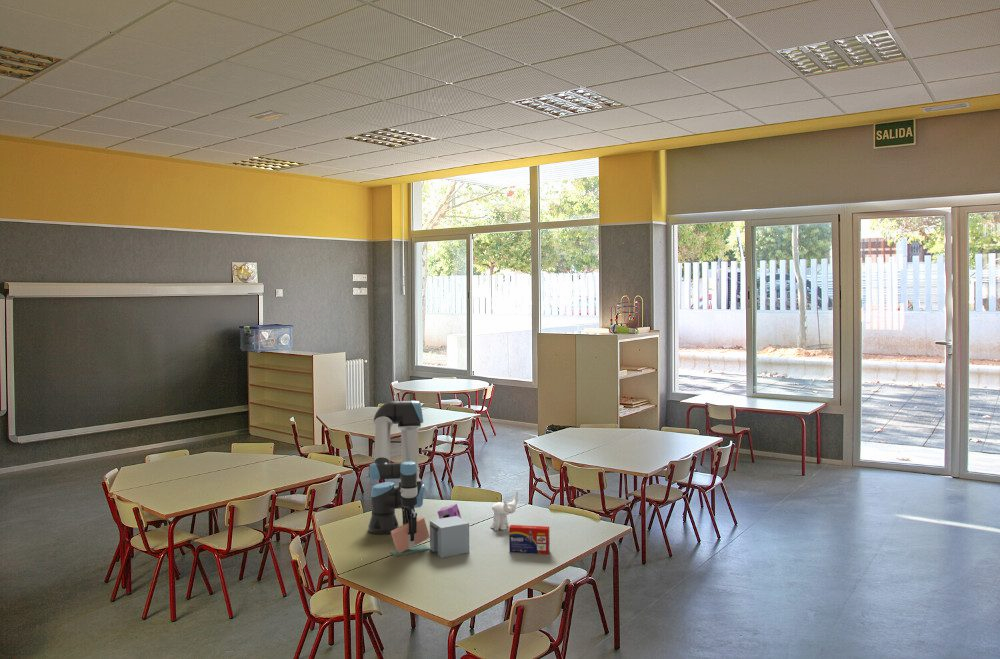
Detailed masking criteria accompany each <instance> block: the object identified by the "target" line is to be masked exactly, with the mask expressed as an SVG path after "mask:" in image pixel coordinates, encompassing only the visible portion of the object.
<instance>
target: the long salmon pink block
mask: <svg viewBox="0 0 1000 659" xmlns="http://www.w3.org/2000/svg"><path fill="white" fill-rule="evenodd" d="M428 529H429V528H428V526H427V523H426V520H425V517H423V516H417V533H415V534H414V536H415V546H417V545H418V544H420V543H422V542H424V541H425V540H428V539H430V531H429V530H428ZM390 532H391V533H390V534H391V537H392V540H393V544H394V548H395V550H396V551H397V552H399V553H401V552H403V551H405V550H407V549H409V542H408V533H409V524H408V523H406V524H404V525H403V524H402V525H401V526H399V527H398V528H396V529H394V530H392V531H390Z"/></svg>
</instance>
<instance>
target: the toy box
mask: <svg viewBox="0 0 1000 659" xmlns="http://www.w3.org/2000/svg"><path fill="white" fill-rule="evenodd" d="M508 529H509V530H508V534H509V538H508V540H509V542H508V543H509V548H508V549H509V551H508V552H509V553H514V554H515V553H517V554H531V553H532V555H533V554H537V555H550V550H551V549H550V548H551V547H550V542H551V541H550V540H551V538H550V526H544V525H543V526H542V525H540V526H539V525H521V524H509V527H508Z"/></svg>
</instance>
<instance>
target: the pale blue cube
mask: <svg viewBox="0 0 1000 659" xmlns="http://www.w3.org/2000/svg"><path fill="white" fill-rule="evenodd" d="M461 518H462V517H461ZM461 518H460V517H458V516H453V517H447V518H441V519H439V518H436V519H430V520H429V536H430V538H429V548H430V550H431V551H432V552H437V556H439V557H440V558H441V559H442V558H446V557H451V556H457V555H463V554H467V553H470V523H469V522H468V521H466V520H465V519H463V518H462V519H461Z"/></svg>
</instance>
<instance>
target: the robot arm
mask: <svg viewBox="0 0 1000 659" xmlns="http://www.w3.org/2000/svg"><path fill="white" fill-rule="evenodd" d="M421 404H422V403H421V402H420V401H419V400H391V401H387V402H385V403H383V404H382V405H381V406H380V407H379V408H378V409H377V411H376V412H375V415H374V416H373V427H374V432H375V433H374V450H373V452H374V454H373V455H374V458H373V462H372V463H370V464H369V468H368V469H369V470H368V474H369V475H368V476H369V479H371V480H379V481H380V480H391V479H393V480H397V479H398V480H399V481H398V485H396V484H395V482H393V481H384V482H379V483H377V484H374V485H373V486H372V487H371V493H370V494H371V495H370V497H371V498H370V499H371V501H370V502H371V517H370V519H369V523H368V527H367V528H368V529H367V531H368V532H369V533H371V534H374V535H386V534H388V535H389V534H391V532H390V531H392V530H394V529H396V528H398V527H400V526H399V525H400V524H399V521H398V518H397V516H396V510H398V509H401V515H402V525H404V524H406V523H408V524H409V533H408V542H409V548H413V547H415V546H416V545H415V536H414V534H415V533H417V518H418V512H416V511H415V509H417V508H418V509H419V508H422V506H423V504H424V503H423V502H424V495H425V485H426V484H424V483H423V481H422V479H421V478H420V477H419V475H420V472H419V429H421V425H422V424H423V423H424V416H423V409H422V405H421ZM393 425H397V428H398V429H399V430H400V446H401V450H400V453H401V454H400V456H401V457H400V458H401V459H400V460H401V462H400V461H399V462H391V428H392V427H393Z"/></svg>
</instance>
